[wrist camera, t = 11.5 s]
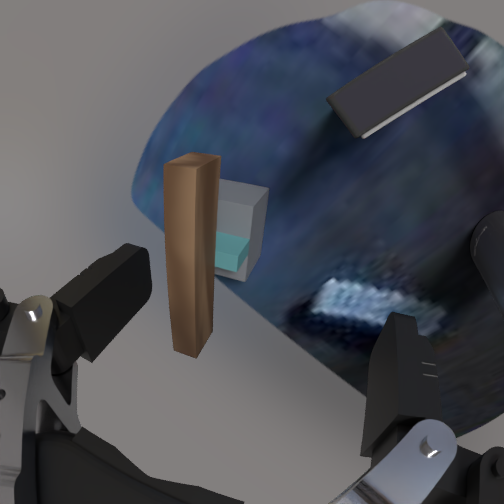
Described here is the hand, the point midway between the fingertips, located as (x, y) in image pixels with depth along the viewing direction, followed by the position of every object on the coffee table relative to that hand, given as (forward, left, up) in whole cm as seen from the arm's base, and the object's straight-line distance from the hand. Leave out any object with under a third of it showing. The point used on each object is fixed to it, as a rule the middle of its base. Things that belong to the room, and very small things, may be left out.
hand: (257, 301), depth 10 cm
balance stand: (+10, +12, -30) cm, 34 cm away
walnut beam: (+10, +12, -19) cm, 24 cm away
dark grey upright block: (-5, -8, -30) cm, 32 cm away
